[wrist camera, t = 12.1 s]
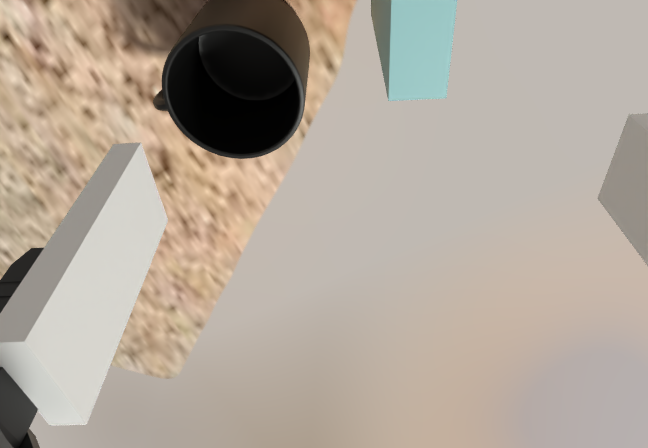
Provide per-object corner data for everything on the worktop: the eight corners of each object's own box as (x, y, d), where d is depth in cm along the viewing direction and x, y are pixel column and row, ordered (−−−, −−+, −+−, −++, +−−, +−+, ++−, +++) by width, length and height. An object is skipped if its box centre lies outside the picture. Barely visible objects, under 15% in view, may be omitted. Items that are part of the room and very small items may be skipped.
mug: (141, 19, 37) (97, 63, 30) (286, -32, 35) (273, 3, 28) (197, 124, 43) (171, 181, 36) (325, 86, 40) (323, 140, 33)
